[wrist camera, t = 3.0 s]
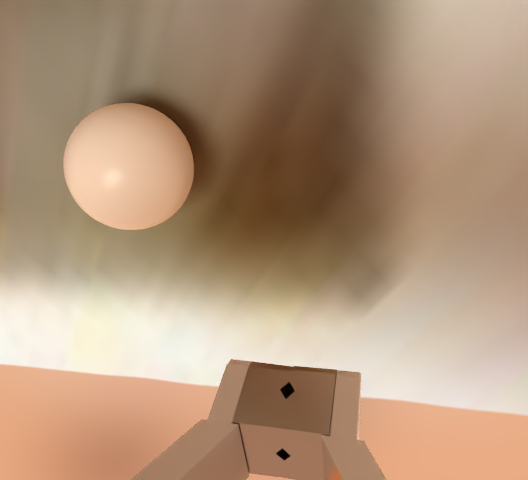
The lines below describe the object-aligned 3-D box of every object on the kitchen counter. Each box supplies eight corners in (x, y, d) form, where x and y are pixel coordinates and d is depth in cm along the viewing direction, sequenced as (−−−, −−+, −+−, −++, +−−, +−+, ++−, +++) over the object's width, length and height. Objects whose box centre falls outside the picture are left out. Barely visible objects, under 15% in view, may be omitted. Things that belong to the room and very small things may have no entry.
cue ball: (198, 83, 21) (146, 133, 16) (218, 192, 24) (178, 258, 20) (88, 87, 22) (13, 134, 18) (121, 190, 25) (63, 251, 21)
